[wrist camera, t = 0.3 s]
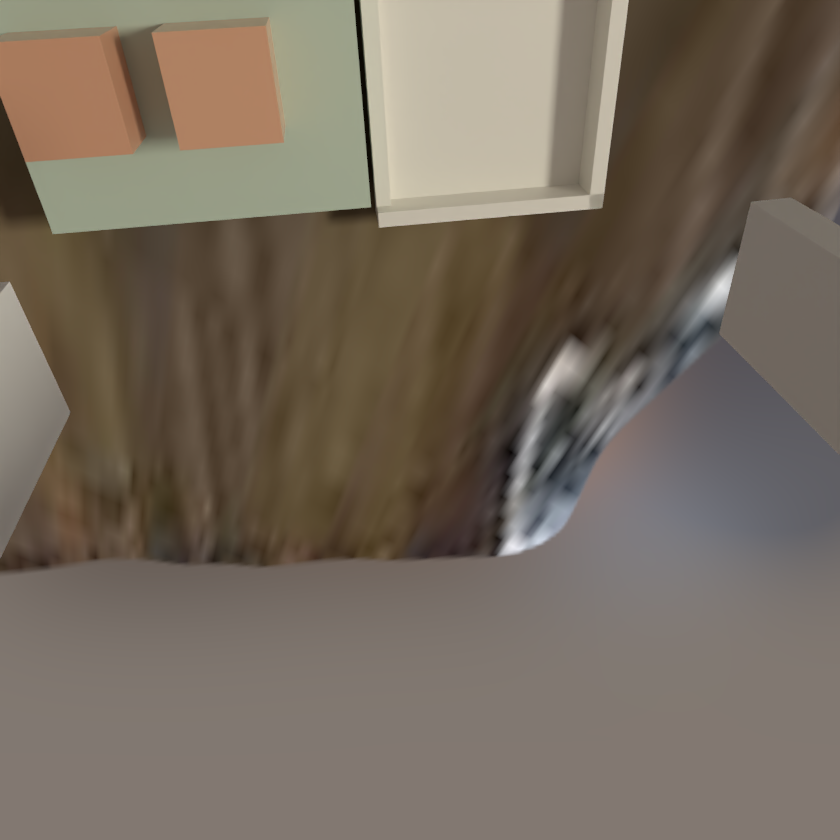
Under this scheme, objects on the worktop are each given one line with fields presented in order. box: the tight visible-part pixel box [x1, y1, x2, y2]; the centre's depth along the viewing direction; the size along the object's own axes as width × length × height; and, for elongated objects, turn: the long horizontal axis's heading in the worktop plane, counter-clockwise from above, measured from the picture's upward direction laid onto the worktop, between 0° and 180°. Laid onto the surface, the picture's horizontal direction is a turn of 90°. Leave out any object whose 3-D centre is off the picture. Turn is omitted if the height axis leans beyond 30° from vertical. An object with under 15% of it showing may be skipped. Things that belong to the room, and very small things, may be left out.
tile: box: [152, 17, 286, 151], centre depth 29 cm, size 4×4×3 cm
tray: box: [359, 0, 629, 227], centre depth 33 cm, size 16×13×2 cm
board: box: [0, 0, 371, 234], centre depth 32 cm, size 13×16×4 cm
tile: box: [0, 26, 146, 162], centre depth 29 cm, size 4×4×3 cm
